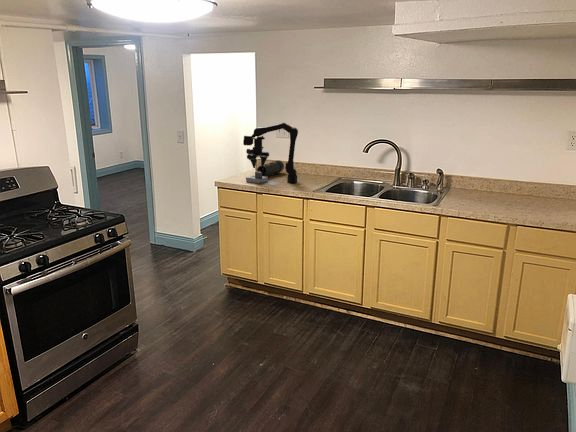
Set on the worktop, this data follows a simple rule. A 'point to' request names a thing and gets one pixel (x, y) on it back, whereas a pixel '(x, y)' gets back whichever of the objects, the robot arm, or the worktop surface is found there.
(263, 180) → the outlet block
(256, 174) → the plug
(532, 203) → the worktop surface
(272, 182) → the mat
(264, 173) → the muzzle brake
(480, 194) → the worktop surface
